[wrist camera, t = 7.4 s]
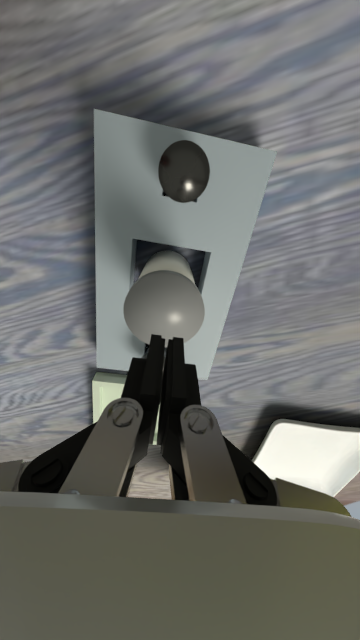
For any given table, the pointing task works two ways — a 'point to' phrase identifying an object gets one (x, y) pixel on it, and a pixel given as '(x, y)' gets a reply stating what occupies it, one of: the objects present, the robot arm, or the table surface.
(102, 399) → the tray
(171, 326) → the cartridge
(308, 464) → the salad plate
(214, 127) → the table surface
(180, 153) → the plunger
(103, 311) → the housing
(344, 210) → the table surface
